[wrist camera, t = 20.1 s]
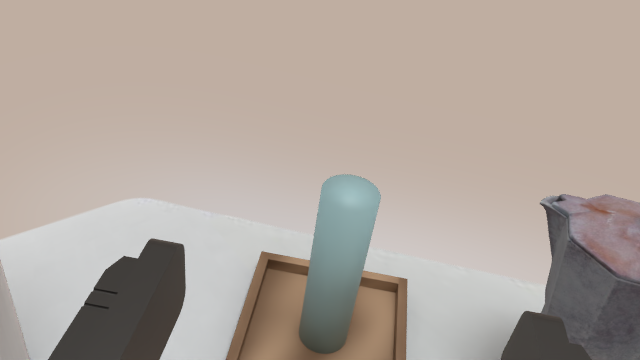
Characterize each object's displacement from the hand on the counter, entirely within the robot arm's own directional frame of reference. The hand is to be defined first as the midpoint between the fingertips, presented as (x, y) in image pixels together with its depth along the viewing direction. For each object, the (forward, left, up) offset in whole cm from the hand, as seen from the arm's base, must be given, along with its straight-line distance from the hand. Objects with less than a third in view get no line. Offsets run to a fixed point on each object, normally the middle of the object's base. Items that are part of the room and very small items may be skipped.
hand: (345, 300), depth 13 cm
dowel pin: (0, +21, -27) cm, 35 cm away
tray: (0, +21, -28) cm, 35 cm away
